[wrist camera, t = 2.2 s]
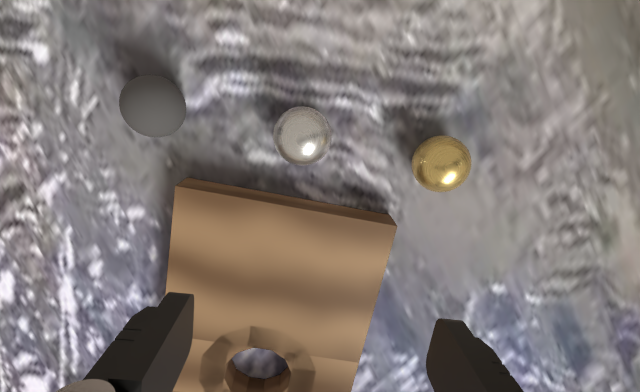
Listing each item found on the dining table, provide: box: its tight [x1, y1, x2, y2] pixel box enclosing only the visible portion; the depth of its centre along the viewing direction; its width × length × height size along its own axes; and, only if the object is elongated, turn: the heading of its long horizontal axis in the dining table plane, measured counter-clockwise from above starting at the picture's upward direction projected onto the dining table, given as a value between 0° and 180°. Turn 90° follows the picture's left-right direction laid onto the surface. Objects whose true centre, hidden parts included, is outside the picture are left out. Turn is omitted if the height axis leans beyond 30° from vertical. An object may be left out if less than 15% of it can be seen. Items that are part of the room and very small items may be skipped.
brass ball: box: [412, 136, 471, 192], centre depth 25 cm, size 4×4×4 cm
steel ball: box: [273, 106, 332, 165], centre depth 24 cm, size 4×4×4 cm
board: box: [165, 178, 397, 392], centre depth 29 cm, size 20×16×2 cm
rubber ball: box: [119, 75, 186, 137], centre depth 23 cm, size 4×4×4 cm
